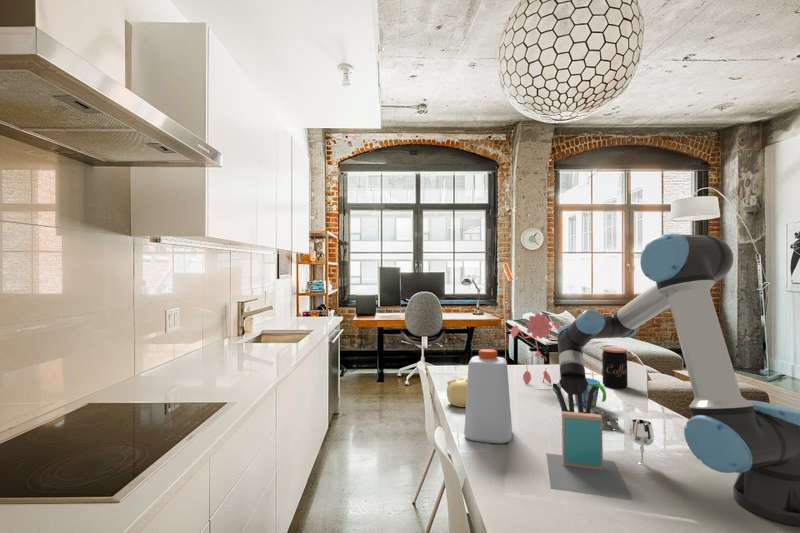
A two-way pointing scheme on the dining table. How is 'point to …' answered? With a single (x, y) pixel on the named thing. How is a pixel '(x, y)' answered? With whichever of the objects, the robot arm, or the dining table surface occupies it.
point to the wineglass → (641, 434)
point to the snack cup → (597, 384)
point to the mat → (587, 478)
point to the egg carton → (605, 417)
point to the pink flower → (537, 328)
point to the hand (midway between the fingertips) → (579, 438)
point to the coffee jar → (614, 367)
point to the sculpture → (457, 392)
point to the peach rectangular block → (582, 440)
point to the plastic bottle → (488, 399)
